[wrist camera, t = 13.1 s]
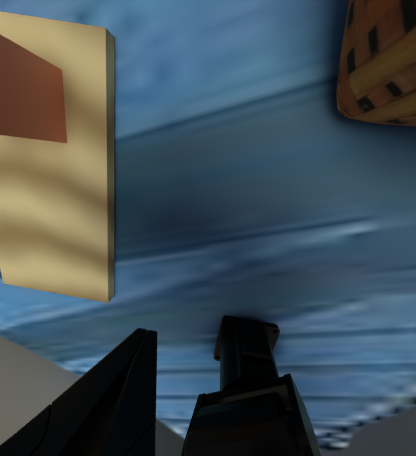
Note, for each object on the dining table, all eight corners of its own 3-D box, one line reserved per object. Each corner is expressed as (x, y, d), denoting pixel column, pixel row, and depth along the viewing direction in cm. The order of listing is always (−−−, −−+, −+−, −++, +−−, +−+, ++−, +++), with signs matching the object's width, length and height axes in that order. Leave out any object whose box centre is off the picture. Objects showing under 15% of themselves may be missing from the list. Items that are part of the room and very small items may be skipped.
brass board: (114, 295, 23) (108, 302, 22) (14, 277, 23) (3, 283, 22) (114, 38, 15) (105, 27, 14) (-36, 14, 15) (-57, 2, 14)
